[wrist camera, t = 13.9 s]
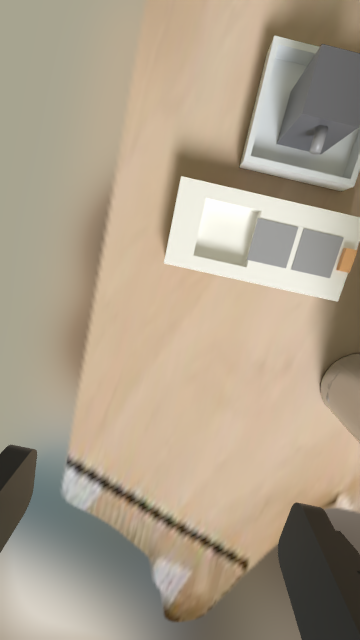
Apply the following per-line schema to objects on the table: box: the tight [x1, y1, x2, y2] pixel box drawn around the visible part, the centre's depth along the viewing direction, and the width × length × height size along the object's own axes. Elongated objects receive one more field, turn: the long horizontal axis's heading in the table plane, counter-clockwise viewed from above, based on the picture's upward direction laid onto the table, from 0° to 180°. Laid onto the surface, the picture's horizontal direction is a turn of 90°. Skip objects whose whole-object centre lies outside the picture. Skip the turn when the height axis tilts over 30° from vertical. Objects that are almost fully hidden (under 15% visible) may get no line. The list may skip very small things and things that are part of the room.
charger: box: [277, 44, 360, 155], centre depth 27 cm, size 5×7×7 cm
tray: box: [239, 35, 360, 191], centre depth 29 cm, size 12×11×2 cm
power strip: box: [164, 176, 360, 302], centre depth 32 cm, size 20×9×4 cm, turn 78°
